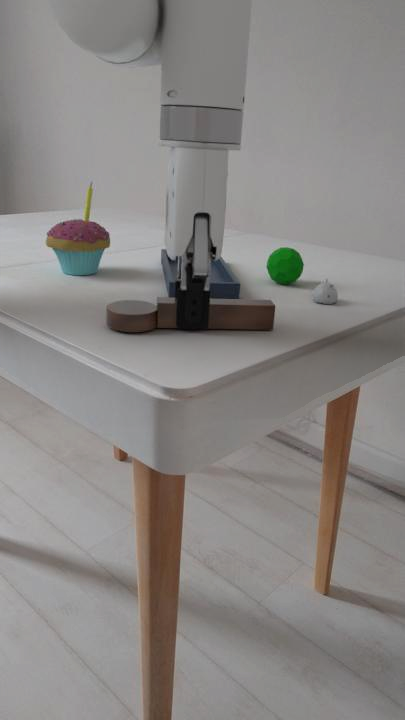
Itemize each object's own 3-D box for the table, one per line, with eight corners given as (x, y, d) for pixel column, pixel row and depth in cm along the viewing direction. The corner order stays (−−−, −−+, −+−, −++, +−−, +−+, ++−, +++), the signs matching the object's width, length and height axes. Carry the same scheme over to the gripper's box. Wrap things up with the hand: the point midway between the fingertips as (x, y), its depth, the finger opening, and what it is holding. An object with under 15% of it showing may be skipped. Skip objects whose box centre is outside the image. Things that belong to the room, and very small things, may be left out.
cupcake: (95, 263, 84) (93, 178, 79) (121, 275, 77) (121, 184, 73) (39, 268, 79) (33, 178, 75) (61, 281, 73) (57, 185, 68)
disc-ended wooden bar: (105, 332, 55) (104, 306, 54) (107, 315, 60) (107, 291, 59) (276, 334, 57) (279, 310, 56) (265, 318, 62) (267, 295, 61)
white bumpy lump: (330, 297, 72) (333, 277, 71) (342, 306, 69) (346, 285, 68) (306, 297, 72) (309, 277, 71) (318, 306, 68) (321, 285, 67)
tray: (168, 297, 68) (169, 282, 68) (161, 261, 87) (161, 248, 87) (239, 298, 69) (240, 283, 69) (216, 262, 88) (217, 250, 88)
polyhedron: (257, 280, 78) (260, 246, 77) (282, 277, 81) (286, 244, 79) (283, 289, 75) (287, 253, 73) (308, 285, 78) (312, 250, 76)
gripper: (156, 128, 58) (151, 300, 65) (163, 128, 43) (157, 350, 50) (227, 133, 59) (216, 302, 66) (259, 134, 44) (239, 351, 51)
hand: (190, 321), depth 58 cm, fingers closed on disc-ended wooden bar, 2 cm apart
